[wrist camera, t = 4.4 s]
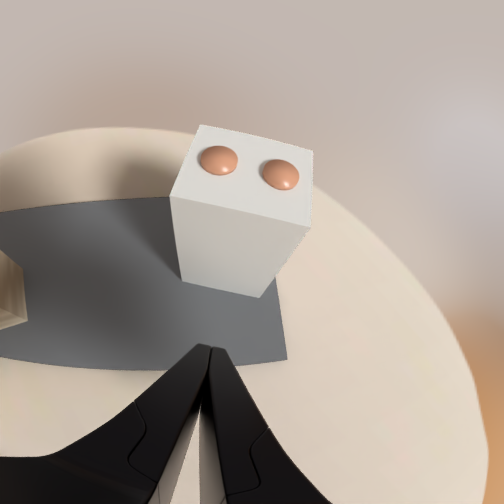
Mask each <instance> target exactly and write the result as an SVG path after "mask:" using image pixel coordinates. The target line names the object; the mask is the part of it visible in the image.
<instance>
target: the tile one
mask: <svg viewBox="0 0 504 504" xmlns="http://www.w3.org/2000/svg"><path fill="white" fill-rule="evenodd" d="M26 321H28V318H27V310H26V301H25V291H24V278H23V268H21V267H20V266H19V265H18V264H16V263H15V262H14V261H13V260H11V259H10V258H9V257H8V256H7V255H6V254H4V253H3V252H2V251H1V250H0V330H1V329H4V328H7V327H11V326H14V325H17V324H20V323H23V322H26Z"/></svg>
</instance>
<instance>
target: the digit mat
mask: <svg viewBox="0 0 504 504" xmlns="http://www.w3.org/2000/svg"><path fill="white" fill-rule="evenodd" d="M0 250H1V251H2V252H3V253H4V254H6V255H7V256H8V257H9V258H10V259H11V260H13V261H14V262H15V263H16V264H18V265H19V266H20V267H21V268H23V278H24V291H25V301H26V310H27V318H28V321H26V322H23V323H20V324H17V325H14V326H11V327H7V328H4V329H1V330H0V357H4V358H9V359H15V360H21V361H27V362H34V363H41V364H48V365H57V366H66V367H77V368H91V369H109V370H169V369H170V368H171V367H172V366H173V365H174V364H176V363H177V362H178V361H179V360H180V359H181V358H182V357H183V356H184V355H185V354H187V353H188V352H189V351H190V350H191V349H192V348H193V347H194V346H195V345H196V344H198V343H201V344H206V345H210V346H211V348H212V347H213V346H216V347H221V348H225V349H226V351H227V353H228V355H229V356H230V358H231V360H232V362H233V364H234V366H241V365H251V364H259V363H267V362H275V361H282V360H288V359H287V352H286V345H285V338H284V332H283V325H282V318H281V311H280V305H279V298H278V292H277V285H276V279H275V278H274V279H273V280H272V282H271V283H270V284H269V286H268V287H267V288H266V290H265V291H264V293H263V294H262V295H261V297H260V298H257V297H252V296H247V295H242V294H238V293H233V292H228V291H224V290H219V289H214V288H210V287H205V286H201V285H196V284H192V283H188V282H183V281H182V278H181V272H180V266H179V260H178V254H177V248H176V241H175V234H174V227H173V220H172V212H171V204H170V197H155V198H136V199H120V200H106V201H94V202H82V203H72V204H62V205H53V206H44V207H36V208H28V209H21V210H14V211H7V212H0Z"/></svg>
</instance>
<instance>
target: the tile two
mask: <svg viewBox="0 0 504 504" xmlns="http://www.w3.org/2000/svg"><path fill="white" fill-rule="evenodd" d="M312 182H313V151H311V150H308V149H304V148H301V147H297V146H294V145H290V144H287V143H283V142H279V141H275V140H271V139H267V138H263V137H259V136H255V135H251V134H246V133H242V132H237V131H232V130H226V129H222V128H217V127H212V126H206V125H200V127H199V129H198V131H197V133H196V135H195V137H194V139H193V142H192V144H191V146H190V148H189V150H188V153H187V155H186V157H185V159H184V162H183V164H182V166H181V169H180V171H179V173H178V176H177V178H176V181H175V183H174V186H173V188H172V191H171V193H170V204H171V212H172V220H173V227H174V234H175V241H176V248H177V254H178V260H179V266H180V272H181V278H182V281H183V282H188V283H192V284H196V285H201V286H205V287H210V288H214V289H219V290H224V291H228V292H233V293H238V294H242V295H247V296H252V297H257V298H260V297H261V295H262V294H263V293H264V291H265V290H266V288H267V287H268V286H269V284H270V283H271V282H272V280H273V279H274V278H275V276H276V275H277V274H278V272H279V271H280V269H281V268H282V267H283V265H284V264H285V263H286V261H287V260H288V258H289V257H290V256H291V254H292V253H293V251H294V250H295V249H296V247H297V246H298V244H299V243H300V242H301V240H302V239H303V237H304V236H305V235H306V233H307V232H308V230H309V229H310V227H311V208H312Z"/></svg>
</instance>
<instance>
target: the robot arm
mask: <svg viewBox="0 0 504 504" xmlns="http://www.w3.org/2000/svg"><path fill="white" fill-rule="evenodd" d="M200 406H201V407H200ZM199 411H200V419H199V475H200V504H332V503H331V502H330V501H328V500H327V499H326V498H325V497H324V496H323V495H322V494H321V493H320V492H319V491H318V489H317V488H316V487H315V486H314V485H313V484H312V483H311V482H310V481H309V480H308V479H307V477H306V476H305V475H304V474H303V473H302V472H301V471H300V470H299V468H298V467H297V466H296V465H295V464H294V462H293V461H292V460H291V459H290V457H289V456H288V455H287V454H286V452H285V451H284V450H283V448H282V447H281V445H280V444H279V442H278V441H277V439H276V438H275V436H274V434H273V433H272V431H271V429H270V428H268V427H269V426H268V424H267V423H266V421H265V419H264V418H263V416H262V414H261V413H260V411H259V409H258V407H257V406H256V404H255V402H254V400H253V399H252V397H251V395H250V393H249V392H248V390H247V388H246V386H245V384H244V383H243V381H242V379H241V377H240V375H239V373H238V371H237V370H236V368H235V366H234V364H233V362H232V360H231V358H230V356H229V355H228V353H227V351H226V349H225V348H221V347H216V346H213V347H212V348H211V346H210V345H206V344H201V343H198V344H196V345H195V346H194V347H193V348H192V349H191V350H190V351H189V352H188V353H187V354H185V355H184V356H183V357H182V358H181V359H180V360H179V361H178V362H177V363H176V364H174V365H173V366H172V367H171V368H170V369H169V370H168V371H167V372H166V373H165V374H163V375H162V376H161V377H160V378H159V379H158V380H157V381H156V382H154V383H153V384H152V385H151V386H150V387H149V388H148V389H147V390H145V391H144V392H143V393H142V394H141V395H140V396H139V397H138V398H136V399H135V400H134V402H132V403H131V404H129V405H128V406H127V407H126V408H125V409H124V410H122V411H121V412H120V413H119V414H117V415H116V416H115V417H114V418H112V419H111V420H109V421H108V422H106V423H105V424H103V425H102V426H100V427H99V428H97V429H96V430H94V431H92V432H91V433H89V434H87V435H86V436H84V437H82V438H81V439H79V440H77V441H76V442H74V443H72V444H70V445H69V446H67V447H65V448H63V449H62V450H60V451H58V452H55V453H53V454H49V455H46V456H40V457H0V504H170V502H171V499H172V496H173V492H174V489H175V486H176V483H177V480H178V477H179V474H180V471H181V468H182V465H183V461H184V458H185V455H186V452H187V449H188V446H189V443H190V440H191V437H192V434H193V431H194V427H195V424H196V421H197V418H198V415H199Z"/></svg>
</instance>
